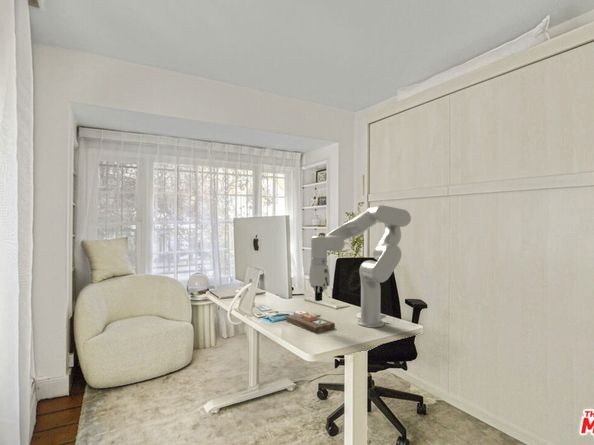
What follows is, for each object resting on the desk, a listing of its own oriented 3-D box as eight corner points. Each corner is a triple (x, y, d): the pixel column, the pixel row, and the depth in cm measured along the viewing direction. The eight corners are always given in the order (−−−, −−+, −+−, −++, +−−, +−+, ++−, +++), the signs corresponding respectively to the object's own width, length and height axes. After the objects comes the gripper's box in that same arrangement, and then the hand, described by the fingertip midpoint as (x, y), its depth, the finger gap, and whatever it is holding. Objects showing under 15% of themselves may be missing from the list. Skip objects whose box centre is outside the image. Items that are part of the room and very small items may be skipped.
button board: (305, 317, 175) (305, 312, 175) (334, 328, 156) (334, 323, 156) (286, 321, 168) (286, 316, 168) (315, 333, 149) (315, 327, 149)
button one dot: (301, 316, 171) (301, 310, 171) (307, 318, 167) (307, 312, 167) (293, 317, 168) (293, 311, 168) (299, 320, 164) (299, 313, 164)
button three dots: (320, 326, 159) (320, 319, 159) (327, 328, 155) (327, 322, 155) (312, 328, 156) (312, 321, 156) (319, 330, 152) (319, 323, 152)
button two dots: (310, 319, 165) (310, 313, 165) (316, 322, 161) (317, 315, 161) (302, 321, 162) (302, 314, 162) (308, 323, 158) (309, 317, 158)
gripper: (335, 262, 153) (335, 302, 153) (314, 260, 165) (314, 296, 165) (323, 263, 149) (323, 304, 148) (303, 260, 161) (302, 298, 160)
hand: (318, 300), depth 157 cm, fingers closed
